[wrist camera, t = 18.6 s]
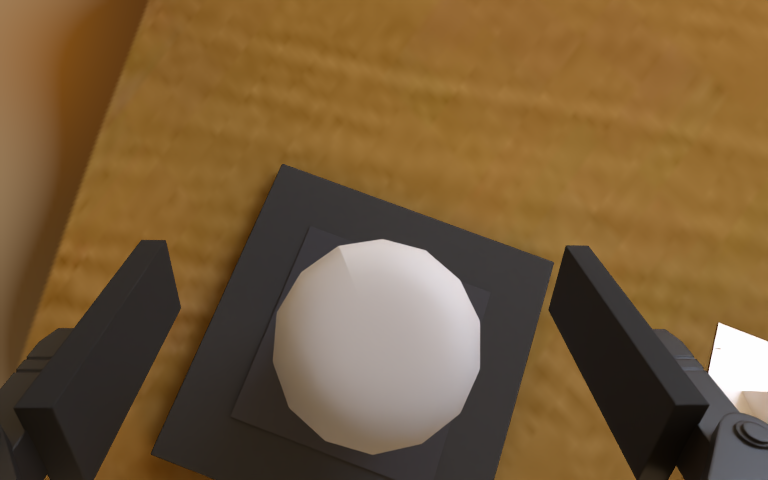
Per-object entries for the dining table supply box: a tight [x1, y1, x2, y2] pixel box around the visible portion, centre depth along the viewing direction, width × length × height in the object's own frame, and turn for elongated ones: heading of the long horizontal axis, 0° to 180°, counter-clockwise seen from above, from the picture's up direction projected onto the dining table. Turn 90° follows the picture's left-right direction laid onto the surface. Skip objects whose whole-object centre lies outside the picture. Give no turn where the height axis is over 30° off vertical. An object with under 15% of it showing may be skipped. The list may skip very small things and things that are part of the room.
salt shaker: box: [273, 239, 480, 455], centre depth 15 cm, size 6×6×13 cm
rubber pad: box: [151, 164, 554, 480], centre depth 22 cm, size 14×14×1 cm
